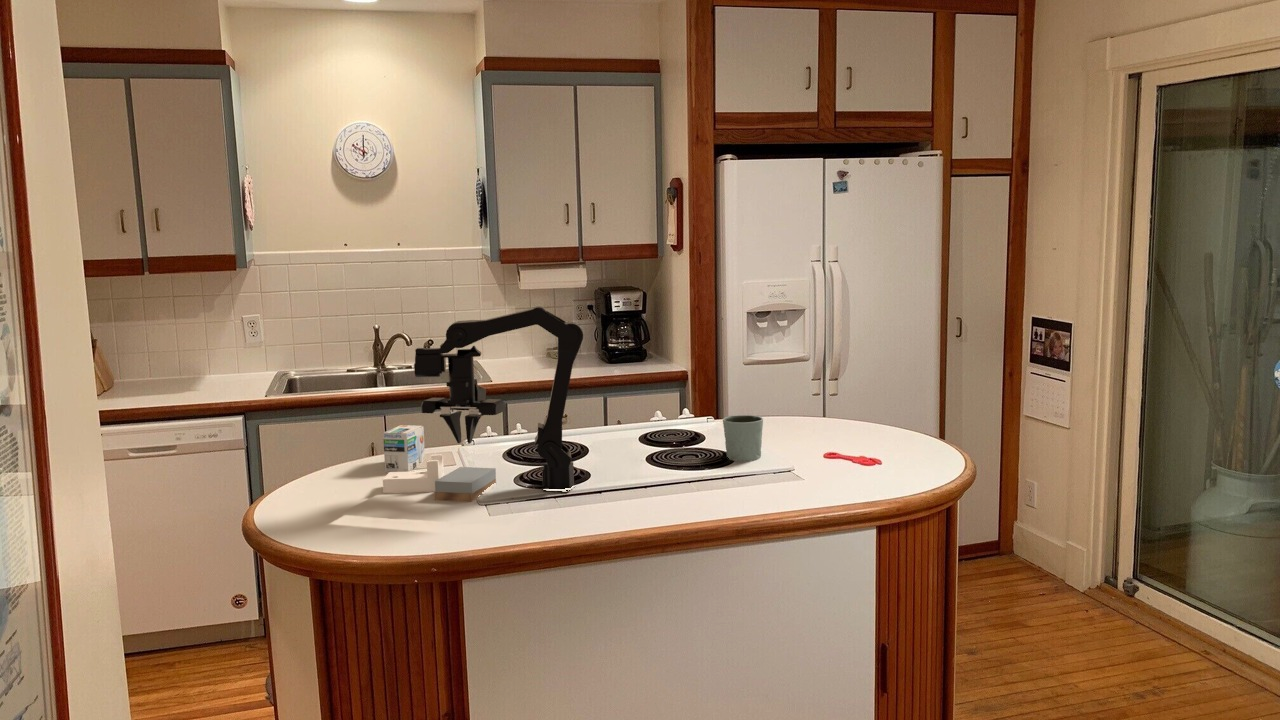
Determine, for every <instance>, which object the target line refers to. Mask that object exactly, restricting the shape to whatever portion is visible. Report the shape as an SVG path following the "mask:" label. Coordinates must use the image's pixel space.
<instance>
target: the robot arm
mask: <svg viewBox="0 0 1280 720" xmlns="http://www.w3.org/2000/svg"><path fill="white" fill-rule="evenodd" d="M535 325H536V326H539V327H541V328H542V329H544V330H545V331H547V332H548V333H550V334H551V335H553V336H555V337H556V338H557V361H556V365H555V366H556V367H555V371H554V372H555V373H554V376H553V382H552V387H551V391H550V392H551V393H550V398H549V404H548V409H547V413H546V418H545V420H544V423H542V422H541V423H540V422H538V423H537V433H536V436H535V437H534V445H535V446H536V445H537V446H536V450H537V454H538V455H539V456H540V457H541V458H542V459H543V460H545V461H546V462H545V463H543V469H542V470H541V473H542V474H541V476H542V479H541V480H542V486H543V485H544V486H545V487H548V488H549V489H565V488H571V487H572V486H573V485H574V484H575V478H574V477H575V476H574V475H575V474H574V473H575V472H574V470H575V469H574V462H573V461H572V453H571V450H570V449H569V448H568V447H567V446H566V445H565V444H564V443H563V419H564V413H565V406H566V402H567V397H568V391H569V387H570V381H571V377H572V371H573V366H574V362H575V360H576V358H577V355H578V354H579V352H580V351H579V350H580V349H581V345H582V343H583V340H584V332H583V329H582V328H581V326H580V325H579V324H578V323H577V322H574V321H565V319H562V318H560V317H559V316H557V315H555V314H553V313H551V312H550V311H548V310H546V308H544V307H542V306H540V305H539V306H535V307H533V308H529V309H525V310H521V311H517V312H512V313H508V314H504V315H500V316H496V317H491V318H487V319H470V320H457V321H455V322H453V323H451V324H450V325H449V327H448V328H447V329H446V333H445V340H444V342H443V343H441V344H440V345H439V347H437V348H433V347H431V348H430V347H429V348H427V347H426V348H425V347H416V348H415V349H414V351H415V354H414V355H415V356H414V364H413V371H414V376H415V378H416V379H421V378H422V379H424V378H426V379H428V378H442V374H443V373H446V372H447V367H448V381H446V383H445V384H446V387H447V388H448V387H449V399H447V398H446V397H430V398H428V399H424V400H422V403H421V405H420V409H421V410H420V412H421V414H434V413H436V411H437V410H439V411H440V414H439V418H442V419H443V420H444V421H445V423H446V425H447V426H448V428H449V429H450V432H451V433H452V435H453V437H454V439H455V441H456V442H457V444H461V443H462V428H461V426H462V425H461V415H462V411H468V412H469V413H468V414H467V415H465V416H464V421H465V423H464V424H465V434H466V441H467V444H471V443H472V442H473V439H474V434H475V432H476V428H477V426H478V423H479V422H480V419H481V418H482V417H483V416H497V415H499V414H502V413H503V412H505V411H506V406H505V405H506V404H505V402H504V400H503V399H502V398H501V399H498V398H493V399H492V398H487V399H486V395H487V388H485V387H483V386H479V384H478V379H477V378H475V367H474V358H478V357H481V355H482V351H480V350H479V349H478V347H476V345H472V344H474V343H477V342H479V341H480V340H483V339H485V338H487V337H490V336H493V335H498V334H502V333H507V332H511V331H515V330H519V329H522V328H523V329H524V328H528V327H532V326H535ZM469 345H472V347H471V348H465V347H467V346H469ZM461 348H462V349H461ZM463 348H464V349H463ZM454 349H457V352H456V353H450V352H451V351H453V350H454ZM446 359H447V360H448V361H447V360H446ZM447 364H448V365H447ZM543 489H544V487H543V488H541V491H542V490H543ZM566 491H568V490H566Z"/></svg>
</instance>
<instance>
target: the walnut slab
mask: <svg viewBox="0 0 1280 720" xmlns="http://www.w3.org/2000/svg"><path fill="white" fill-rule="evenodd" d="M494 483H496V484H497V478H496V479H494V480H493V481H491V482H490V483H488V484H487V485H485V486H483V487H482V488H480V489H479V490H477V491H476V492H474V493H472V494H469V493H448V492H433V495H434V496H433V497H434V501H444V502H445V501H447V502H463V503H472V502H473V501H475V500H477V499H479V497H478V496H479V495H481V494H482V492H484V490H486V489H487V488H488V487H490V486H491V485H492V484H494Z"/></svg>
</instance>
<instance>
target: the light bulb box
mask: <svg viewBox="0 0 1280 720" xmlns="http://www.w3.org/2000/svg"><path fill="white" fill-rule="evenodd" d="M424 427H425V426H424V425H408V424H406V425H405V424H400V425H398V426H395V427H393V428H391V429H389V430H387V431H384V432H382V436H383V437H382V440H383V453H384V472H385V473H389V472H411V471H414V469H416V468H417V467H419V466H420V465H421V464H422V463H421V462H423V461H424V460H425V461H426V453H425V452H426V451H425V450H426V449H425V431H424ZM425 461H424V462H425ZM424 462H423V463H424ZM420 463H421V464H420ZM419 464H420V465H419ZM418 465H419V466H418Z"/></svg>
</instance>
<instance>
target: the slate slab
mask: <svg viewBox="0 0 1280 720" xmlns="http://www.w3.org/2000/svg"><path fill="white" fill-rule="evenodd" d="M496 470H497V469H496V468H495V467H473V466H472V467H471V466H460V467H458V468H456V469H454V470H452V471H451V472H449V473H447V474H444V476H443V477H441V478H440V479H438V480H436V481H435V492H448V493H469V494H472V493H474V492H476V491H477V490H479V489H480V488H482V487H483V486H485V485H487V484H488V483H490V482H491V481H493V480H494V479H496V480H497V472H496Z"/></svg>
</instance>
